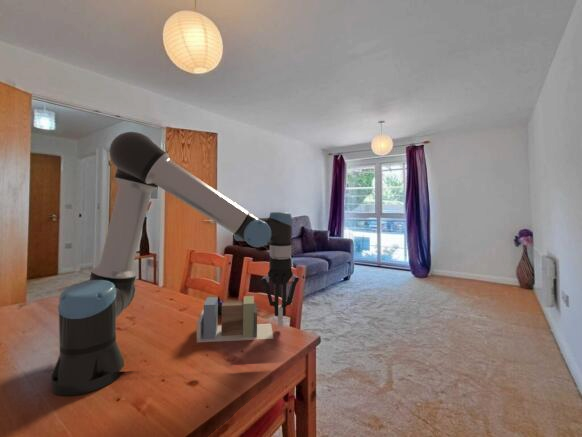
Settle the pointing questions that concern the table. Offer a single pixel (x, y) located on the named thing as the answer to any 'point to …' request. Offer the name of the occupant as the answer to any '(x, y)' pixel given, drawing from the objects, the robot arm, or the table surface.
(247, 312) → the book
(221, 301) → the character figurine
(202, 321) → the white book rack
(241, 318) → the book
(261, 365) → the table surface
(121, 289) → the robot arm
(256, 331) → the bookend
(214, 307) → the book
